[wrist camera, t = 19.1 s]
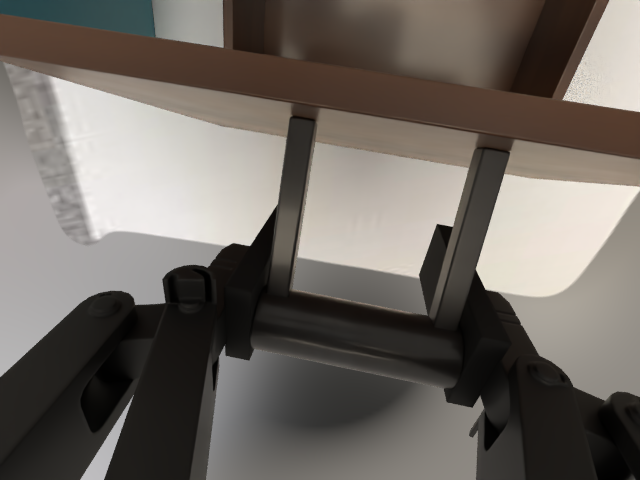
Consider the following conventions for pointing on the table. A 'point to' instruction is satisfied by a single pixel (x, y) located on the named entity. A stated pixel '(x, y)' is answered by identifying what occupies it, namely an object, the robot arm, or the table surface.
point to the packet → (88, 13)
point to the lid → (359, 133)
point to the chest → (426, 38)
